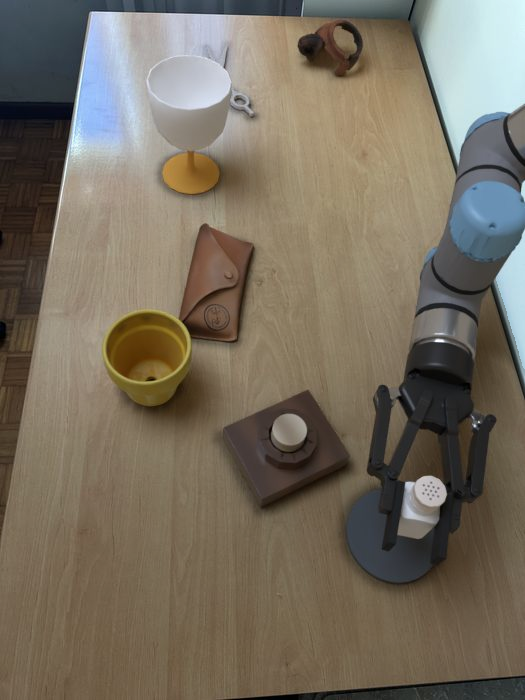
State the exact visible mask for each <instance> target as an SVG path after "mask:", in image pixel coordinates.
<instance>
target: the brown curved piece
mask: <svg viewBox="0 0 525 700" xmlns="http://www.w3.org/2000/svg"><path fill="white" fill-rule="evenodd" d="M337 27H340V29H341V30H344V31H345V32H348V33H349V34H351V35H352V37H353V43H354V44H355V46H356V50H355V52H354V53H350V54H349V55H348V57H347V58H346V52H345V51H344V50H342V48H340V47H339V45H338V44H337V42H336V40H335V38H334V37H335V36H334V31H335V28H337ZM296 46H297V49H298V51H299V53H300V54H301V56H304V57H305V58H306V60H307V61H308V62H310V63H311V62H313V60H314V58H315V56H316V55H317V53H319V52H320V51H321V50H322V48H324V50H326V52H327V53H328V54H329V55H330V56H331V57H332V58H333V60H334V61H336V62H337V63H338V64H339V66H338V68H337V69H336V70H335V75H336V76H337V75H338V76H343V75H344V74H346V72H347V71H350V70H351V69H352V68H354V66H355V65H356V64H357V62H358V60H359V57H360V55H361V54H362V51H363V49H364V41H363V37H362V35H361V32H360V31H359V29H358V28H357V27H356V26H355V24H353V23H351V22H349V21H348V20H343V19H338V20H335V21H334V22H332V21H331V22H327V23H324V24H322V25H321V26H319V27H318V28H317V29H316V30H315V31H314V33H308V34H305V35H302V36H301V37H299V39H298V42H297V45H296Z"/></svg>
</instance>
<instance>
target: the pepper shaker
mask: <svg viewBox="0 0 525 700" xmlns="http://www.w3.org/2000/svg"><path fill="white" fill-rule="evenodd" d="M404 482H405V489H404V495H403V502H402V508H401V514H400V521H399V527H398V534H397V535H401V536H406V537H411V538H416V539H420V538H423V537H424V536H425V535H426V534H427V533H428V532H429V531H430V530H431V529H432V528H433V527H434V526H435V525H436V524H437V523H438V521H439V515H440V506H441V505H442V504H443V503H444V502H445V499H446V496H447V492H446V488H445V485H444V482H443V481H441V479H440V478H438V477H435V476H433V475H422V477H420V478H418V479H417V480H416V481H404Z"/></svg>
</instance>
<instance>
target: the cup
mask: <svg viewBox="0 0 525 700" xmlns="http://www.w3.org/2000/svg"><path fill="white" fill-rule="evenodd" d="M145 82H146V83H145V84H146V92H147V98H148V103H149V107H150V112H151V116H152V119H153V124H154V126H155V128H156V130H157V133H158V134H159V135H161V137H162V138H163V139H164V140H165V141H166V142H167V143H168V144H169V145H170V146H171V147H175V148H176V149H178V150H181V151H186V152H185V153H184V152H183V153H179V154H177V155H174V156H172V157H170V159H168V160H167V161H166V162H165V163H164V165H163V168H162V172H161V174H162V178H163V182H164V183H165V184H166V185H167V186H168V187H169V188H170V189H172V190H174V191H176V192H178V193H180V194H185V195H198V194H203V193H206V192H207V191H209V190H211V189H213V188H214V187H215V186H216V184H217V183H219V180H220V179H219V178H220V174H221V173H220V171H219V170H220V169H219V167H218V164H217V163H216V162H214V160H213V159H212V158H210V157H208V156H206V155H204V154H202V153H195V151H201V150H203V149H206V148H209V147H210V146H212V144H213V143H214V142H215V141H216V140H217V139H218V138H219V137H220V136H221V135H222V134H223V131H224V128H225V126H226V123H227V119H228V115H229V109H230V105H231V104H230V100H231V97H232V93H231V90H232V87H233V82H232V78H231V76H230V74H229V72H228V71H227V70H226V69H225V68H224V67H222V66H221V65H220V64H219V62H217V61H216V62H214V61H212V60H210V58H208V57H206V56H200V55H194V54H184V55H173V56H170V57H168V58H165V59H163V60H160V61H158V62H157V63H156V64H154V66H153V67H151V68H150V70H149V72H148V74H147V77H146V80H145Z"/></svg>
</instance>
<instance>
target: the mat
mask: <svg viewBox="0 0 525 700" xmlns="http://www.w3.org/2000/svg"><path fill="white" fill-rule="evenodd" d="M381 489H382V488H378V489H374V490H371V491H369V492H367V493H365V494H364V495H362V496H361V497H360V498H359V499H357V500H356V502H355V503H354V504H353V506H352V507H351V510H350V511H349V513H348V516H347V518H346V524H345V538H346V544H347V546H348V549H349V552H350V554H351V556H352V557H353V560H355V562H356V563H357V564H358V566H359V567H360V568H361V569H362V570H363V571H365V573H367V574H368V575H369V576H371V577H373V578H375V579H377V580H379V581H382V582H385V583H388V584H399V585H400V584H407V583H411V582H414V581H416V580H419V579H420V578H421V577H423V576H424V575H426V574H427V573H428V572H429V571H430V570H431V569H432V567H433V566H434V564H430V560H431V552H432V544H433V536H434V528H435V526H434V527H433V528H432V529H431V530H430V531H429V532H428V533H427V534H426V535H425V536H424V537H423V538H420V539H416V538H411V537H406V536H401V535H397V540H396V545H395V546H394V547H393V548H392V549H391V550H390V551H389V552H388V551H385V550H382V543H383V537H384V531H385V525H386V520H387V515H385V514H382V513H379V509H378V506H379V500H380V494H381Z"/></svg>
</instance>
